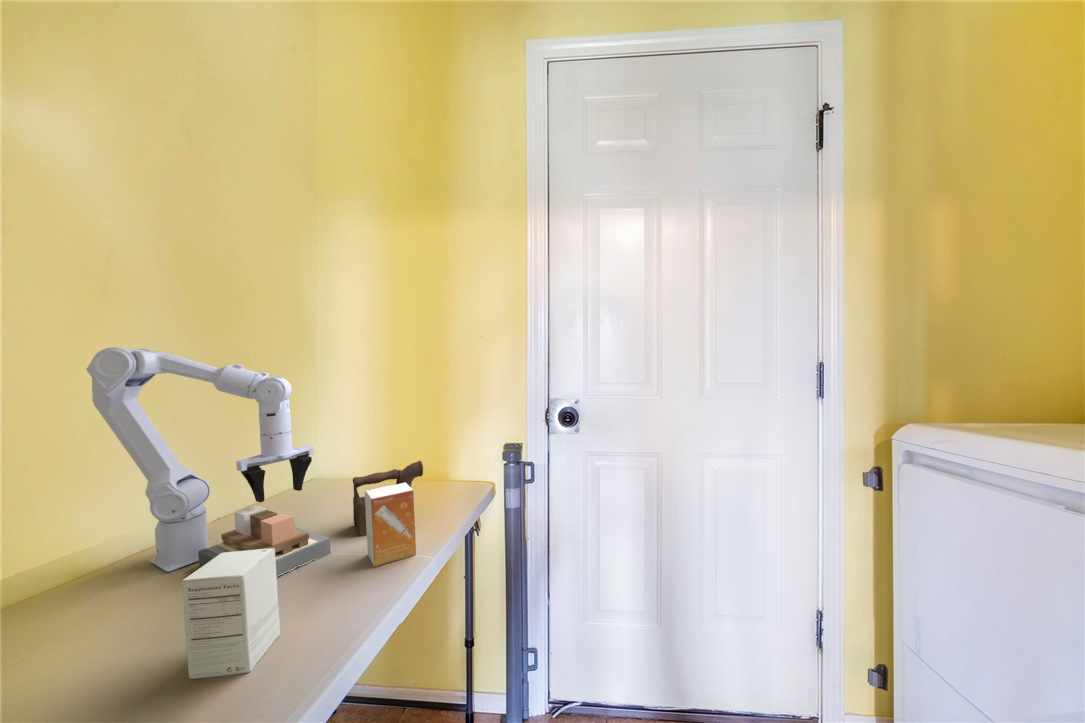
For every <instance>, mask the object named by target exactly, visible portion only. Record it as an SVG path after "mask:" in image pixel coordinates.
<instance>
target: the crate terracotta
mask: <svg viewBox="0 0 1085 723" xmlns="http://www.w3.org/2000/svg"><path fill="white" fill-rule="evenodd" d="M295 527H296V526H295V516H293V515H290V514H288V513H279V514H277V515H276V516H273V517H270V518H267V519H264V520H261V535H262V542H264V543H267V544H269V545H272V546H273V545H276V544H278V543H281V542H284V541H286V540H289V539H291V538H294V537H295Z"/></svg>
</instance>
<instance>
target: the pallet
mask: <svg viewBox="0 0 1085 723" xmlns="http://www.w3.org/2000/svg"><path fill="white" fill-rule="evenodd" d="M276 515H278V513H277V512H275V511H272V510H271V511H270V510H268V509H266V510H265V511H262V512H258V513H255V514H252V515H250V526H251V533H250V534H247V535H243V534H241V533H238V532H236V530H235V529H233V530H230V531H227V532H224V533H221V534H220V536H221V540H222V543H223V544H225V545H227V546H229V547H232V548H234V549H236V550H239V551H246V550H256V549H271V548H272V549H275V553H276V552H277V553H280V554H282V555H284V554H287V553H289V552H292V546H296V547H299V548H301V547H303V546H306V545H308V539H309V534H308V533H305V532H301V531H298V530H295V537H294V538H291V539H289V540H286V541H284V542H281V543H278V544H276V545H273V546H272V545H269V544H267V543H264V542H262V535H261V520H264V519H267V518H270V517H273V516H276Z"/></svg>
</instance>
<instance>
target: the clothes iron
mask: <svg viewBox="0 0 1085 723" xmlns="http://www.w3.org/2000/svg"><path fill="white" fill-rule="evenodd" d="M423 475H424V465H423V462H422V461H421V460H417V461H416V462H413V463H410V464H409V465H406V466H405V467H404V468H403V469H398V470H397V468H394V469H391V470H388V471H383V472H381V471H380V472H375V473H374V472H373V473H372V474H367V475H365V476H355V477H353V478H352V484H353V498H352V506H353V510H352V511H353V512H352V513H353V518H352V519H353V528H354V529H355V528H356V529H357V533H358V535H359V536H362V537H363V536H367V532H366V508H365V496H360V494H359V493H358V492H359V491H358V488H359V487H362V486H365V485H375V484H379V483H382V482H385V481H389V480H396V483H395V485H396V484H401V483H407V484H408V485H409V486H410V487H411V488H412V484H413V483H412V482H413V481H414V479H416V478H418V477H423Z"/></svg>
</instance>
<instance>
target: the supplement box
mask: <svg viewBox="0 0 1085 723" xmlns="http://www.w3.org/2000/svg"><path fill="white" fill-rule="evenodd" d="M277 579H278V577H277V576H276V560H275V549H272V548H271V549H256V550H246V551H235V552H224V553H221V554H219V555H218V556H216V557H215V558H214V559H212V560H211V561H209V562H208V563H207V564H205V565H204V566H202V567H199V568H198V569H196V570H195V571H193V573H191V574H190V575H188V576H187V577H185V578H184V579H182V581H181V582H182V598H183V612H184V628H185V640H186V641H185V642H186V643H185V644H186V654H187V656H186V657H187V658H186V659H187V671H188V673H187V674H188V679H192V680H194V679H204V678H212V677H214V678H215V677H222V676H231V675H240V674H247V673H250V672H251V671H252V670H253V668H254V667H255V666H256V664H258V662H259V661H260V659H261V658H262V657H263V656H264V655H265V654H266V653H267V651H268V650H269V648H270V647H271V646H272V645H273V643H274V642H275V641H276V640H277V638H278V637H279V636H280V635H281V627H280V626H281V624H280V623H281V622H280V610H279V594H278V581H277Z"/></svg>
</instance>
